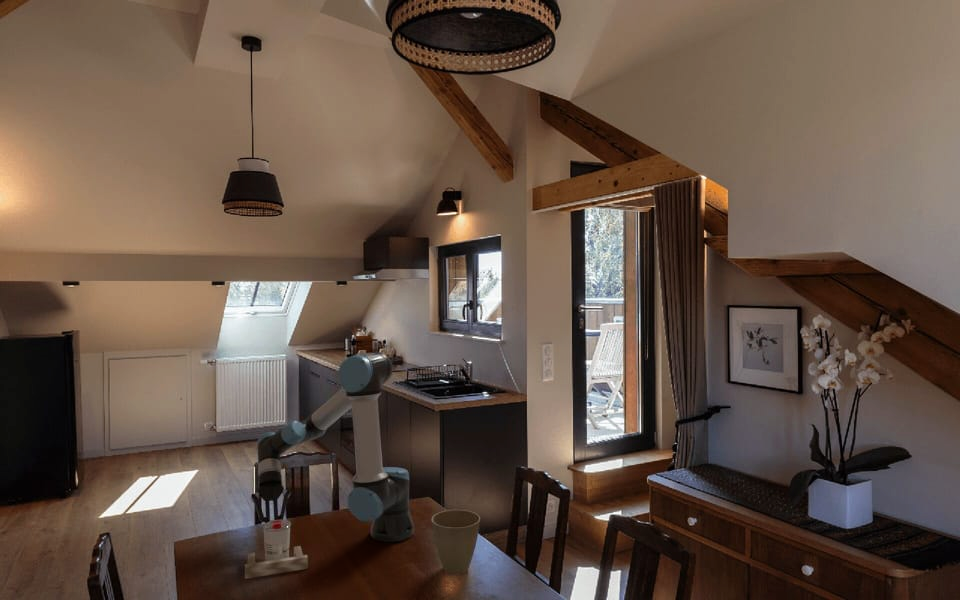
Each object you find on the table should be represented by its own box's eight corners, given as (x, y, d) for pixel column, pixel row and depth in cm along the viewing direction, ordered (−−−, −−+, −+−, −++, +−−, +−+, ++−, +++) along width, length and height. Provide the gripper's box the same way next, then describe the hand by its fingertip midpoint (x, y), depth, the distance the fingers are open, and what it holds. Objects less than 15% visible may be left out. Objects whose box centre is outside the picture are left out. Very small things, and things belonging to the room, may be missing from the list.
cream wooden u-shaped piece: (303, 554, 200) (303, 543, 200) (307, 568, 190) (307, 557, 190) (244, 563, 193) (244, 552, 193) (245, 578, 183) (245, 567, 183)
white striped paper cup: (296, 556, 199) (296, 519, 199) (289, 567, 190) (289, 529, 190) (264, 556, 198) (264, 519, 198) (256, 568, 190) (256, 529, 190)
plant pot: (425, 564, 193) (425, 513, 193) (469, 556, 199) (469, 507, 199) (441, 585, 179) (441, 530, 179) (487, 575, 185) (487, 522, 185)
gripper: (288, 478, 219) (293, 543, 203) (249, 482, 214) (251, 549, 198) (290, 467, 214) (294, 532, 198) (250, 471, 209) (251, 538, 193)
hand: (273, 540), depth 198 cm, fingers closed
